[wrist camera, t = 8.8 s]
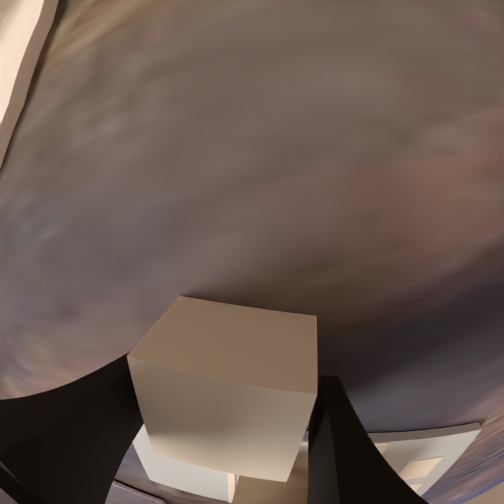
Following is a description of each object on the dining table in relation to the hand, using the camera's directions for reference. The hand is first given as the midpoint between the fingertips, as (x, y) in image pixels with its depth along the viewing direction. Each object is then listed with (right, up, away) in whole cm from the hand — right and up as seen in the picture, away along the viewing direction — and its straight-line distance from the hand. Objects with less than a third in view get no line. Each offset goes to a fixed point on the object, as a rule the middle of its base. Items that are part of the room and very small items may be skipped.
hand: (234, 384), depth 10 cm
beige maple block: (0, +1, +2) cm, 2 cm away
